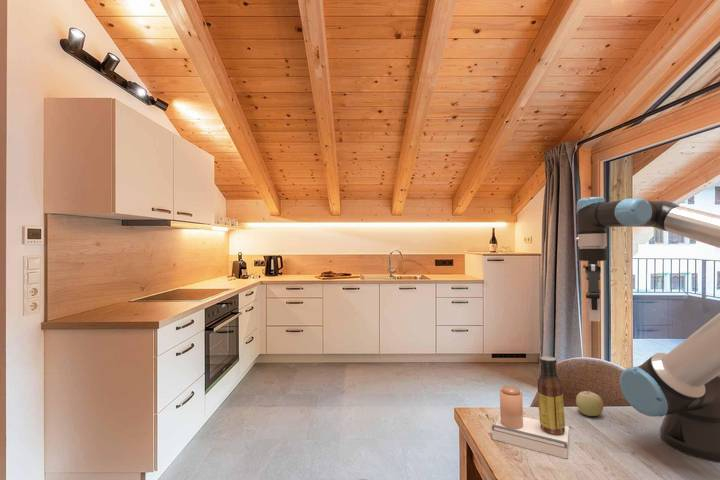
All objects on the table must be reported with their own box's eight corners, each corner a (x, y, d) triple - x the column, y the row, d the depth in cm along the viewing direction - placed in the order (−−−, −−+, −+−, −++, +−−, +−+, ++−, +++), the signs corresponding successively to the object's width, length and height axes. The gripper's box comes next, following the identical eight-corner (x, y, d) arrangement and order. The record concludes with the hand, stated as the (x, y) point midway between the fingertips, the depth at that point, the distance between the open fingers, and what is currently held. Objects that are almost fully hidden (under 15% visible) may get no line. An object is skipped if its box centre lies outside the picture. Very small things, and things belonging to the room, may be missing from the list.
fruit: (606, 421, 108) (605, 395, 108) (578, 417, 111) (577, 391, 111) (600, 411, 115) (599, 386, 115) (574, 407, 118) (573, 383, 118)
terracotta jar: (524, 422, 103) (523, 387, 104) (521, 431, 98) (520, 394, 98) (502, 417, 106) (501, 383, 107) (498, 425, 101) (497, 390, 102)
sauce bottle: (560, 425, 101) (558, 355, 102) (568, 437, 95) (566, 362, 95) (535, 423, 102) (534, 354, 103) (542, 434, 96) (540, 360, 97)
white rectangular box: (569, 435, 100) (568, 422, 100) (567, 459, 89) (566, 444, 89) (501, 420, 110) (501, 408, 110) (492, 439, 99) (492, 425, 99)
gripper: (578, 248, 122) (580, 310, 121) (576, 248, 101) (579, 323, 100) (605, 247, 118) (607, 311, 117) (609, 247, 97) (611, 325, 96)
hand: (594, 317), depth 109 cm, fingers open, 13 cm apart
